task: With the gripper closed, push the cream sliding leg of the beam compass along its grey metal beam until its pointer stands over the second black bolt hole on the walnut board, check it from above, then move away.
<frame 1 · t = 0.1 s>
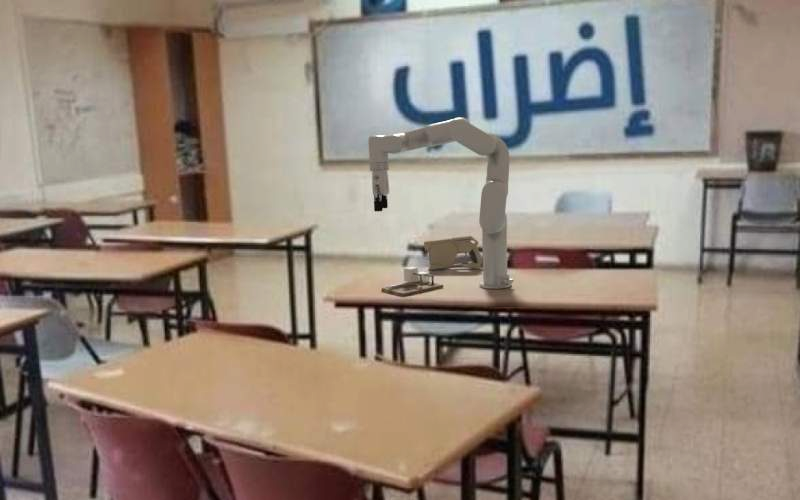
hand: (381, 209, 319), 31 cm above the table, tool pointing down, fingers open, 9 cm apart
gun: (453, 269, 352), on the table
sliding leg: (414, 276, 316), point 5 cm above the table, slide at 0.0 cm
hole board: (412, 289, 315), on the table
beam: (411, 281, 315), on the hole board, point 3 cm above the table
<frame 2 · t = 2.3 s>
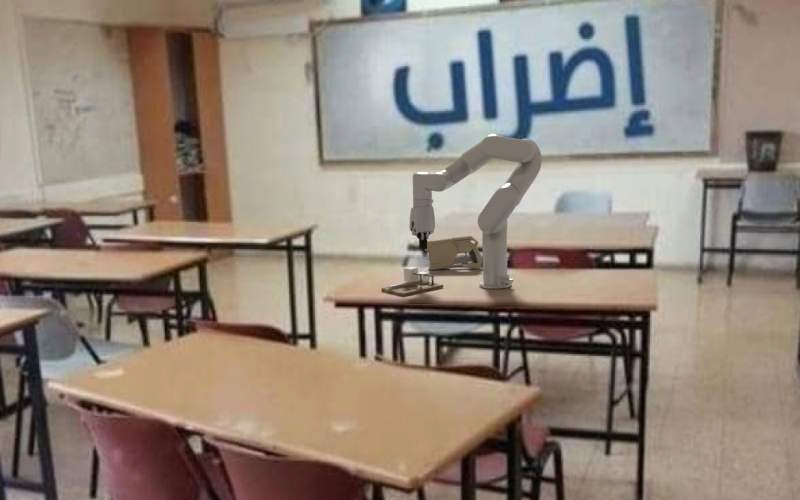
hand: (423, 248, 320), 15 cm above the table, tool pointing down, fingers closed
nothing on the table moved.
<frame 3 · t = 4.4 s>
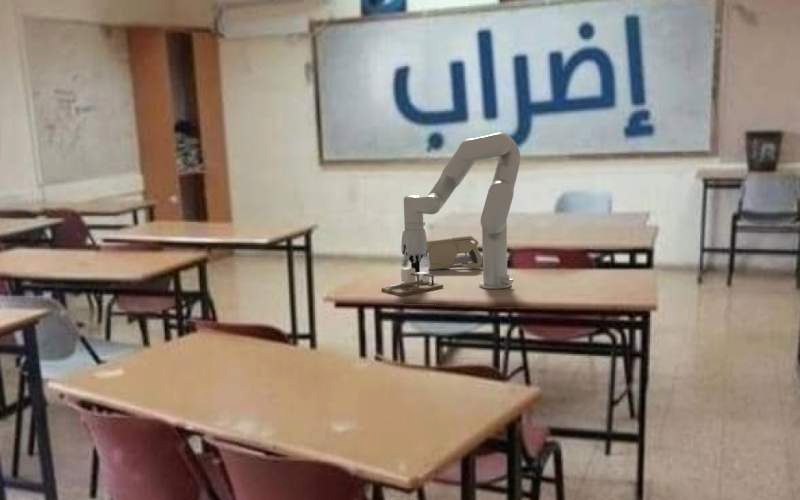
hand: (415, 271, 319), 6 cm above the table, tool pointing down, fingers closed
sliding leg: (411, 277, 315), point 5 cm above the table, slide at 1.4 cm, touching gripper
everything else where it was.
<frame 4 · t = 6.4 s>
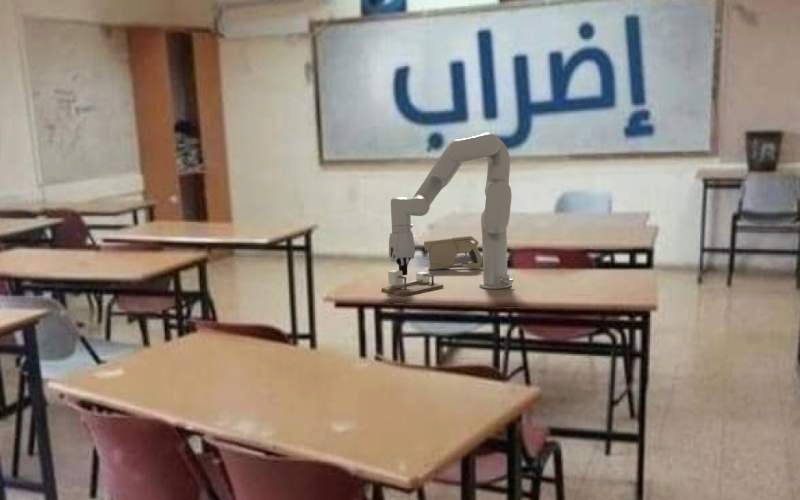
hand: (403, 274, 315), 6 cm above the table, tool pointing down, fingers closed
sliding leg: (399, 279, 311), point 5 cm above the table, slide at 7.8 cm
everything else where it was.
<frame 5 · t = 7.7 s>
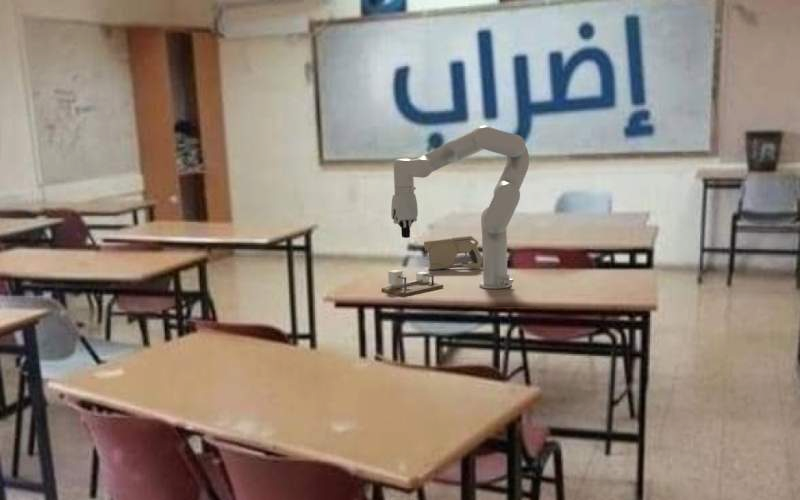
hand: (405, 237, 313), 21 cm above the table, tool pointing down, fingers closed
nothing on the table moved.
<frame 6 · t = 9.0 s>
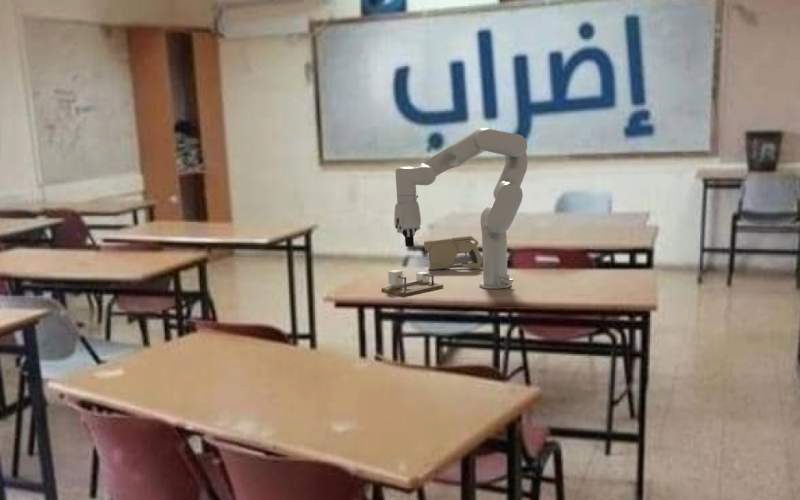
hand: (409, 246, 309), 18 cm above the table, tool pointing down, fingers closed
nothing on the table moved.
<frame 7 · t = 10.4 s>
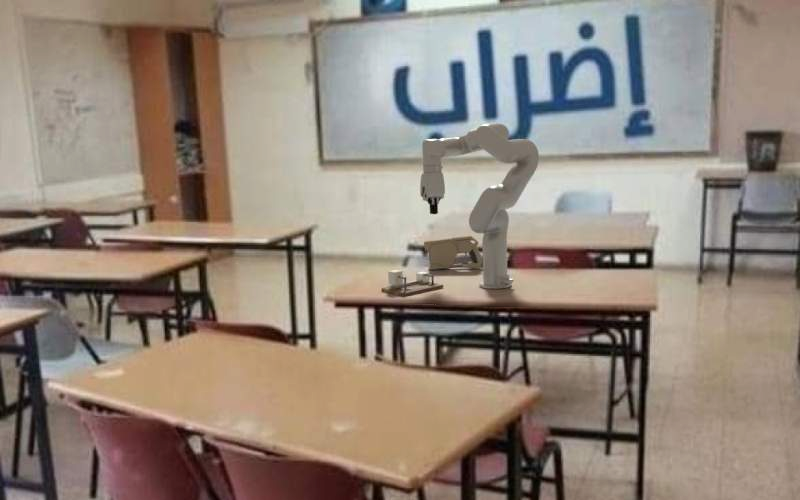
hand: (433, 213, 330), 27 cm above the table, tool pointing down, fingers closed
nothing on the table moved.
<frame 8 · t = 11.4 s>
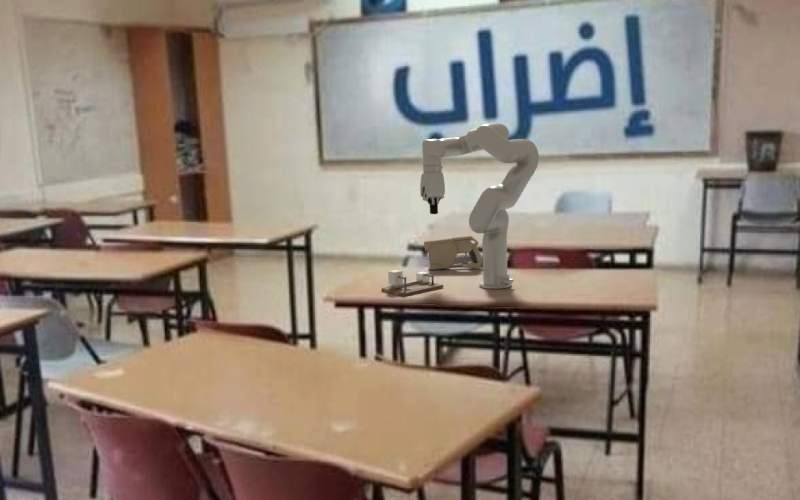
hand: (433, 213, 330), 27 cm above the table, tool pointing down, fingers closed
nothing on the table moved.
at the end: sliding leg slide at 7.8 cm; the gripper is holding nothing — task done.
